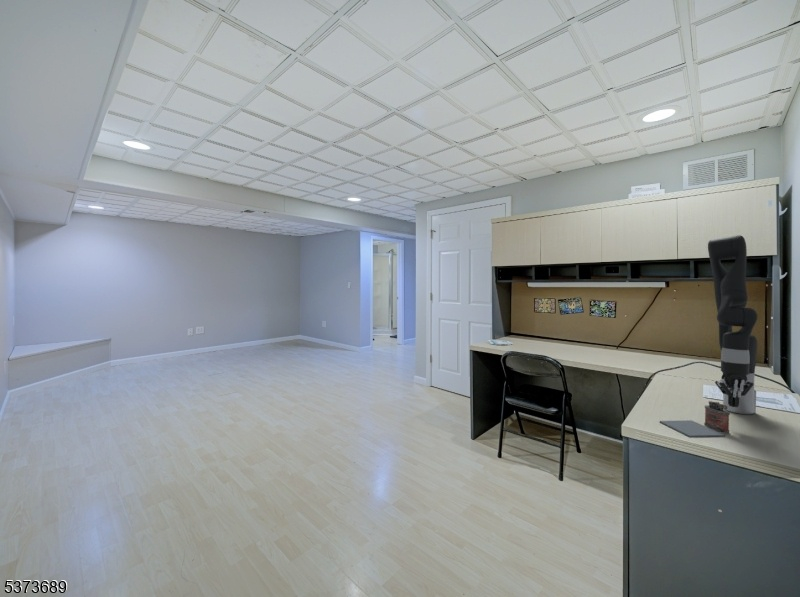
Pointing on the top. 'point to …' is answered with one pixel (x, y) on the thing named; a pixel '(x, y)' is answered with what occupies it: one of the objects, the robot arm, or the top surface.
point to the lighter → (717, 417)
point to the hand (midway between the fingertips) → (733, 406)
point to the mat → (692, 429)
